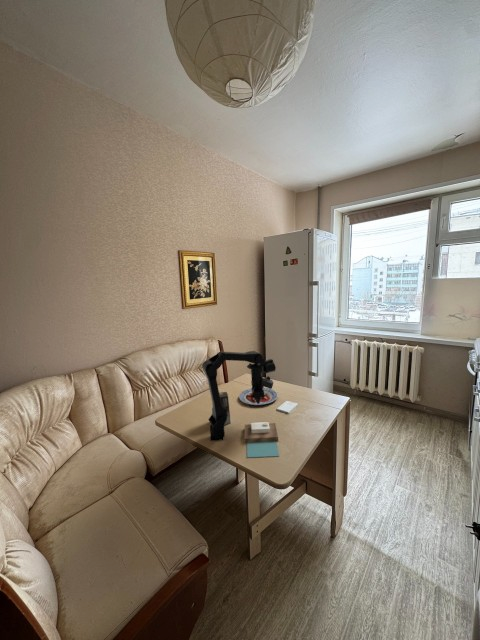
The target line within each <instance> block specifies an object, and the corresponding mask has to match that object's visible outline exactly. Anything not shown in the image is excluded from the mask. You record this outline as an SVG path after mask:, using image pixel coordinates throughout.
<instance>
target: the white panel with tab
mask: <svg viewBox="0 0 480 640" xmlns="http://www.w3.org/2000/svg"><path fill="white" fill-rule="evenodd" d="M269 423H270V422H269V421H264V422H263V421H262V422H251V423H250V424H251V429H252V433H268V432H270V427H269Z"/></svg>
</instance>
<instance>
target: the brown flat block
mask: <svg viewBox="0 0 480 640" xmlns="http://www.w3.org/2000/svg"><path fill="white" fill-rule="evenodd" d="M276 425H277V424H276V423H275V422H271V423H270V422H269V427H270V432H268V433H252V429H251V423H250V424H244V444H247V443H254V442H274V441H276V442H279V436H278V432H277V426H276Z"/></svg>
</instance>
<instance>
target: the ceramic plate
mask: <svg viewBox="0 0 480 640" xmlns="http://www.w3.org/2000/svg"><path fill="white" fill-rule="evenodd" d="M263 390H264V395H265V397H261V398H260V403H259V404H257V402H256V400H255V398H252V387H251V388H247V389H245V390H244V391H242V392H240V393H239V396H238V398H239V400H240V401H241V402H242V403H244V404H247V405H252V406H253V405H254V406H262V405H267V404H270V403H272V402H275V401H276V400H277V399H278V395H279V394H278V393H277V391H276V390H274V389H273V388H272V389H269V388H267V387H264V388H263Z"/></svg>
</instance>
